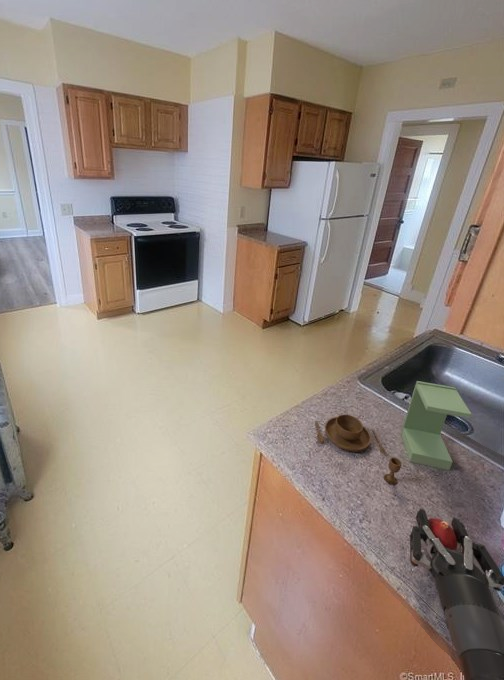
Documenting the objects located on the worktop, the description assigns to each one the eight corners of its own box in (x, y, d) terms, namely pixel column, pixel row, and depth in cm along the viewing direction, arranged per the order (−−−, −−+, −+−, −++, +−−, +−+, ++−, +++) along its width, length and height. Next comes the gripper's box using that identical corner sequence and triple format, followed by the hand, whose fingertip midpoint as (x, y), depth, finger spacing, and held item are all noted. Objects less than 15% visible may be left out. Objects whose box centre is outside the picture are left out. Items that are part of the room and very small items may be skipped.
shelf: (449, 470, 80) (472, 413, 73) (409, 461, 82) (428, 405, 76) (436, 440, 89) (455, 387, 82) (400, 433, 91) (416, 380, 84)
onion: (413, 550, 63) (424, 523, 60) (419, 527, 67) (430, 501, 64) (448, 573, 59) (462, 545, 56) (452, 548, 63) (465, 520, 60)
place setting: (372, 424, 94) (376, 408, 92) (401, 485, 76) (407, 467, 74) (311, 418, 96) (314, 402, 93) (325, 477, 77) (329, 459, 75)
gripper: (542, 628, 45) (486, 513, 60) (427, 592, 48) (401, 492, 64) (522, 655, 48) (473, 539, 63) (415, 620, 51) (393, 517, 66)
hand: (437, 516), depth 63 cm, fingers closed on onion, 5 cm apart
